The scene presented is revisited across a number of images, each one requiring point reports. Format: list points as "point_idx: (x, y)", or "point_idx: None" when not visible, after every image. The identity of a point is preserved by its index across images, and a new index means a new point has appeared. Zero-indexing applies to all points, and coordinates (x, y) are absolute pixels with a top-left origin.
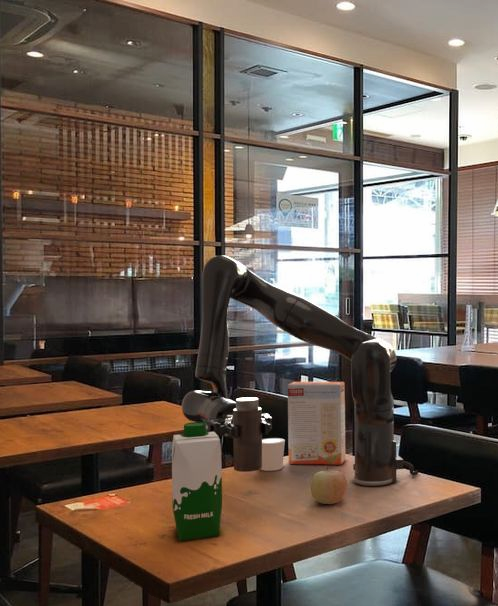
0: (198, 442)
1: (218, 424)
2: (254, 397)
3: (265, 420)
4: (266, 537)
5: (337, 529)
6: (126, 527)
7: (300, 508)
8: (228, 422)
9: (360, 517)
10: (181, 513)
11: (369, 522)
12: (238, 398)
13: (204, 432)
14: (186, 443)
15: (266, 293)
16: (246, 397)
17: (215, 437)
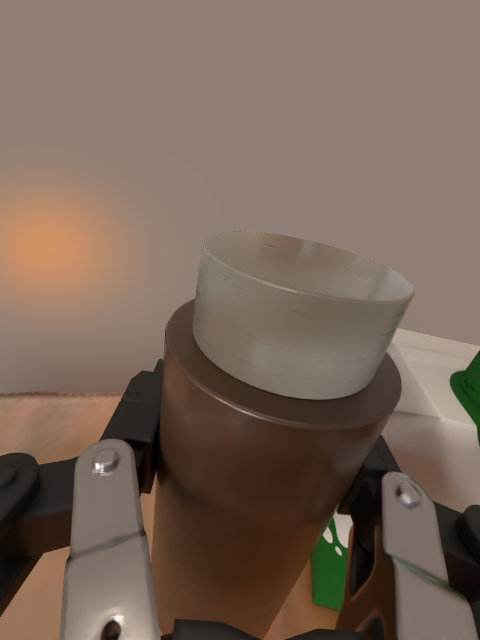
0: (443, 339)
1: (473, 505)
2: (214, 255)
3: (34, 507)
4: None
5: (117, 401)
6: None
7: (38, 581)
8: (402, 518)
9: (31, 420)
10: None
11: (51, 394)
12: (397, 297)
13: (465, 370)
14: (478, 347)
15: None
16: (298, 284)
17: (403, 346)
